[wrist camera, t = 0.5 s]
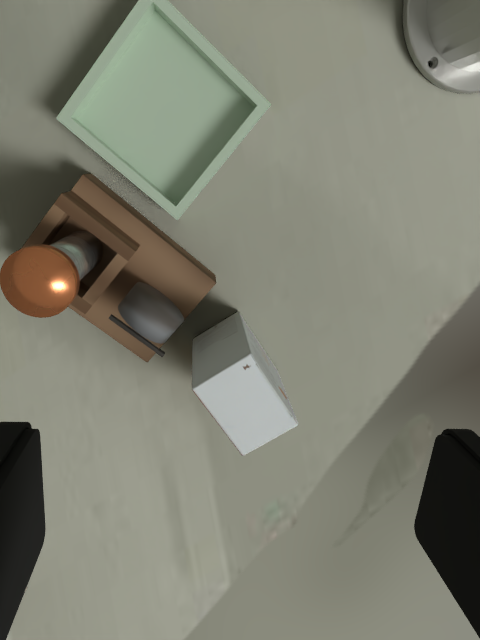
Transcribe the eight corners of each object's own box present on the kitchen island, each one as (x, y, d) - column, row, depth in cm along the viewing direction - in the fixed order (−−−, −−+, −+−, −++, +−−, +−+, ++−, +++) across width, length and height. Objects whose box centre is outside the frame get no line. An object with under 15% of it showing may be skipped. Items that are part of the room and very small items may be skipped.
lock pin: (76, 212, 37) (26, 232, 26) (120, 246, 38) (89, 279, 27) (45, 252, 38) (-15, 287, 27) (89, 285, 39) (48, 330, 28)
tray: (154, -5, 35) (150, -17, 32) (267, 108, 38) (271, 104, 36) (64, 121, 37) (55, 118, 35) (178, 217, 40) (177, 220, 38)
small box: (191, 337, 44) (188, 388, 35) (239, 309, 44) (250, 351, 34) (233, 397, 47) (241, 459, 37) (278, 370, 46) (300, 426, 37)
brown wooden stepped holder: (91, 173, 39) (63, 176, 31) (215, 275, 42) (218, 300, 35) (26, 260, 41) (-15, 284, 33) (150, 350, 44) (139, 389, 37)
